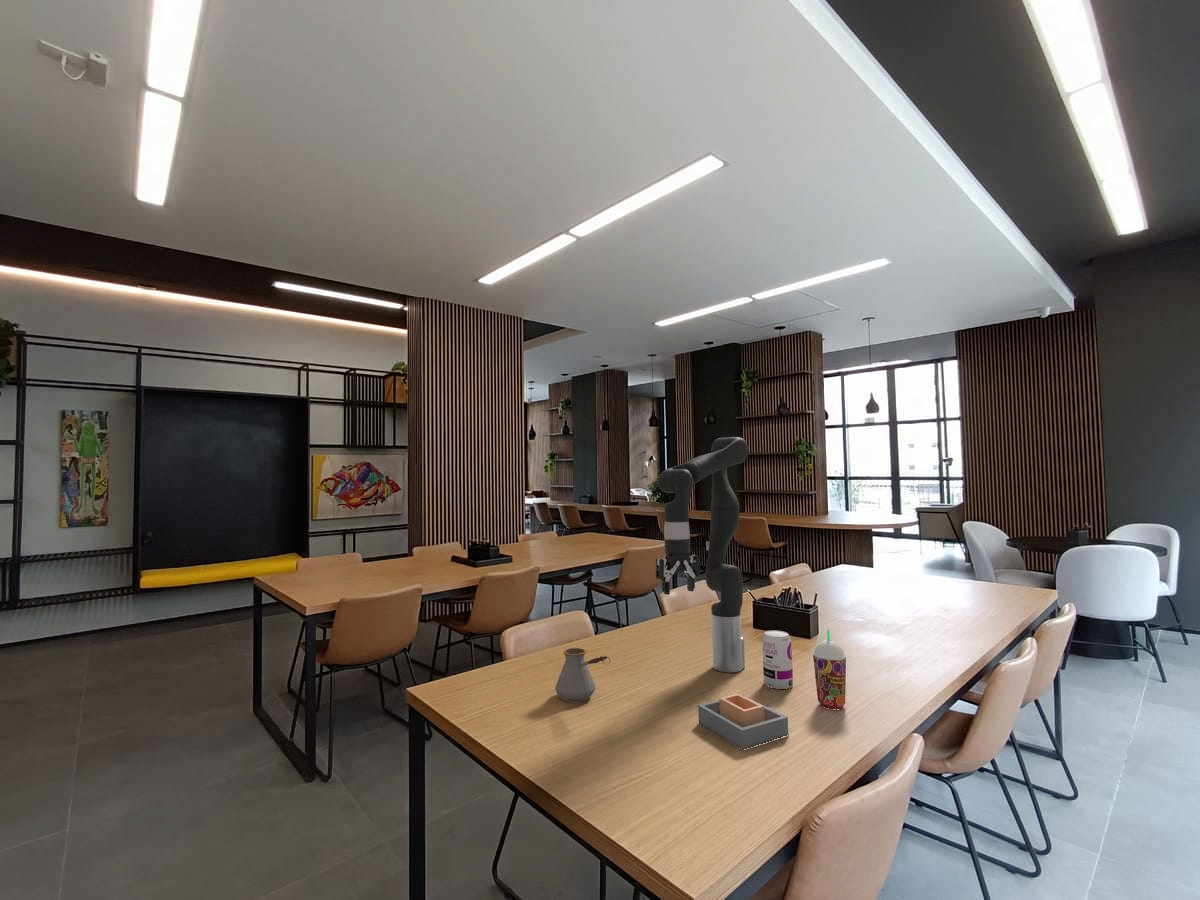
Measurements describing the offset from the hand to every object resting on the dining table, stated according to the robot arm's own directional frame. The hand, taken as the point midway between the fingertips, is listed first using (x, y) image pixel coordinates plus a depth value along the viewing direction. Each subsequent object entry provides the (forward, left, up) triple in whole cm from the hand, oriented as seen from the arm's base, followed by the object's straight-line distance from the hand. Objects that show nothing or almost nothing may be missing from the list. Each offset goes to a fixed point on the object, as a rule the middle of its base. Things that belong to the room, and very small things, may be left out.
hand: (678, 592), depth 160 cm
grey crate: (+2, +28, -28) cm, 40 cm away
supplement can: (-27, +11, -28) cm, 41 cm away
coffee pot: (+28, -6, -28) cm, 40 cm away
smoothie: (-28, +29, -28) cm, 49 cm away
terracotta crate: (+2, +28, -27) cm, 39 cm away
